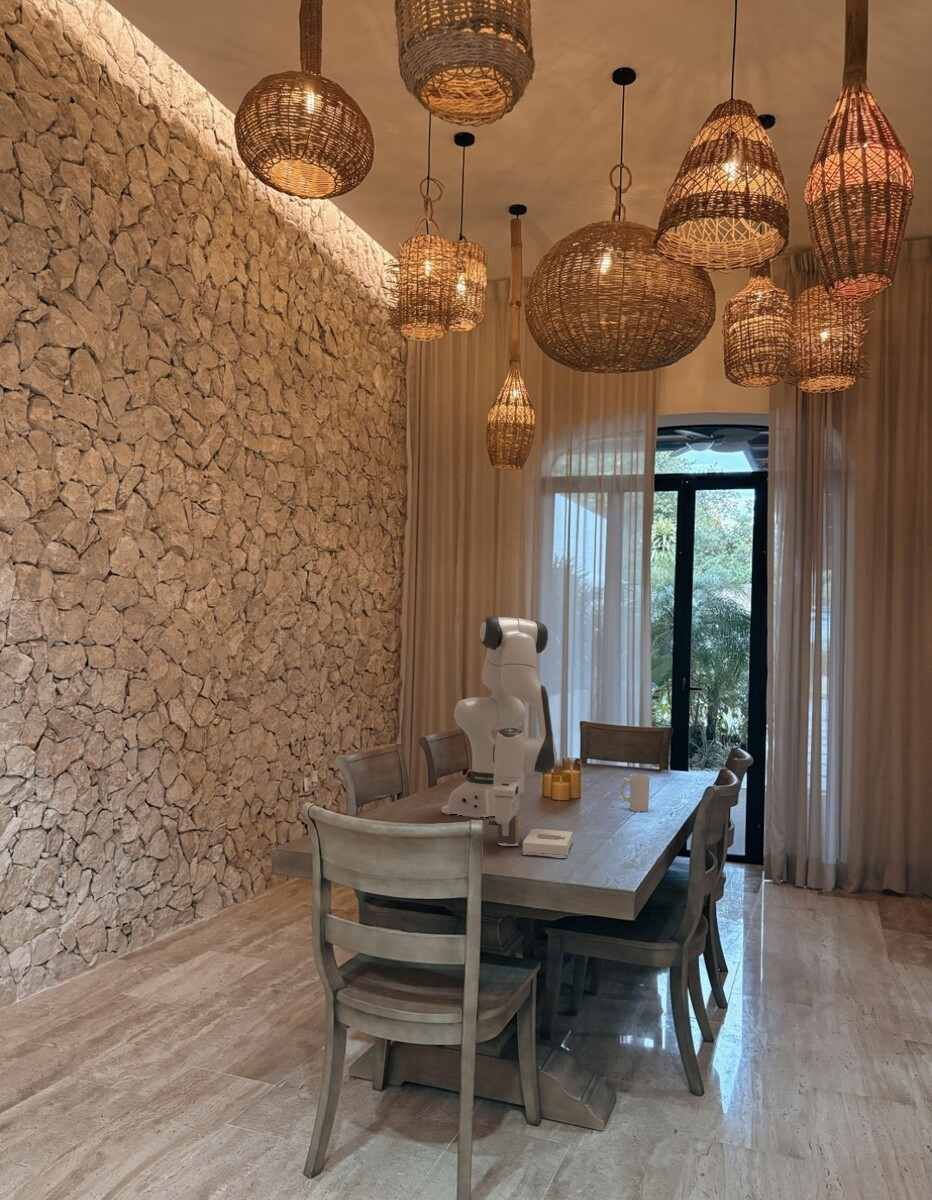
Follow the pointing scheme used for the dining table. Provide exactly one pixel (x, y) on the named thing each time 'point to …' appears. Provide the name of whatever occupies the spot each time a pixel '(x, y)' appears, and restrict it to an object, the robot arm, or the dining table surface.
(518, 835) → the plug
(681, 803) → the dining table surface
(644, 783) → the mug
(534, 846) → the socket block
